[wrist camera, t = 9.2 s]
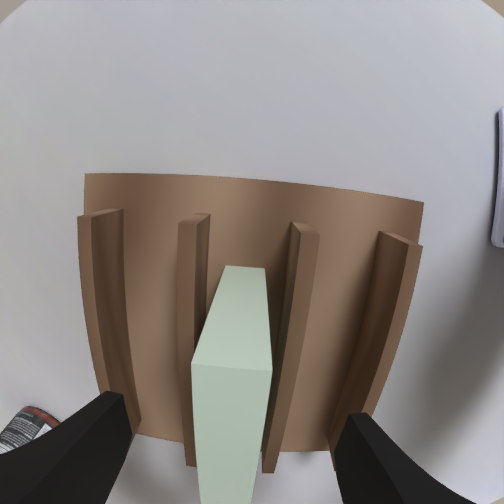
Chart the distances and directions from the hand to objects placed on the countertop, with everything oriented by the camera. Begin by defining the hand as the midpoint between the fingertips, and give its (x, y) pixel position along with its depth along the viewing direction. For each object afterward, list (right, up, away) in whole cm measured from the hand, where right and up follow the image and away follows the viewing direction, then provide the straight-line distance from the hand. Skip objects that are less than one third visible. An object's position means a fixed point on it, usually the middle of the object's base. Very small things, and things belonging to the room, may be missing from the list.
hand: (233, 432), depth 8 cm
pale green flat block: (0, +1, +5) cm, 5 cm away
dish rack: (0, +1, +6) cm, 6 cm away
